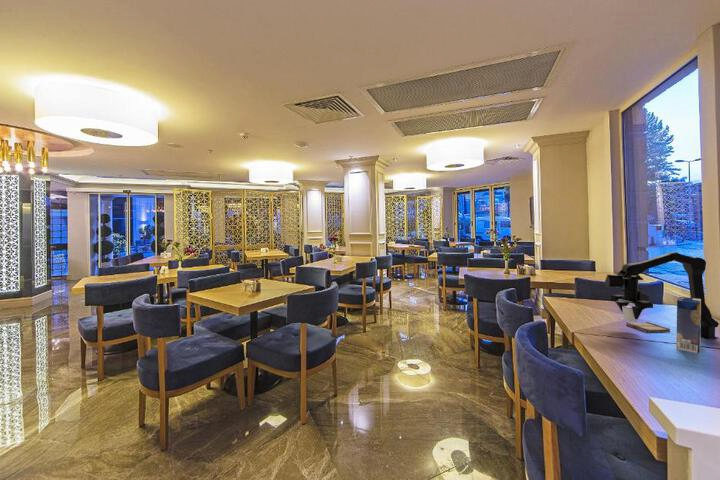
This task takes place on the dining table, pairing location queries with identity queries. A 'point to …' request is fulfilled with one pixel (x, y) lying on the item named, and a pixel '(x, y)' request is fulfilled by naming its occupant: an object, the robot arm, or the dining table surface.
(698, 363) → the dining table surface
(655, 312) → the dining table surface
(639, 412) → the dining table surface
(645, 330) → the serving board
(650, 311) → the dining table surface
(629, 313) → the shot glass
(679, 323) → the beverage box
